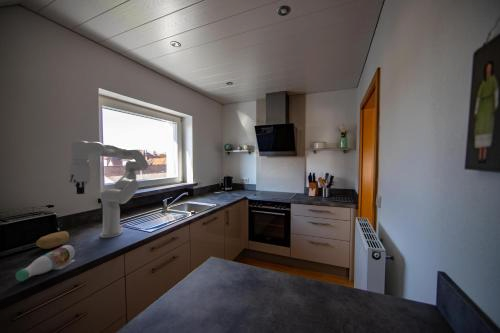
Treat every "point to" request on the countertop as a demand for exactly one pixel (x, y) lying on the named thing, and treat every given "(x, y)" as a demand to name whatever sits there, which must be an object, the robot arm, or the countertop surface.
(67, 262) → the pad
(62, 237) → the potato
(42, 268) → the milk bottle
